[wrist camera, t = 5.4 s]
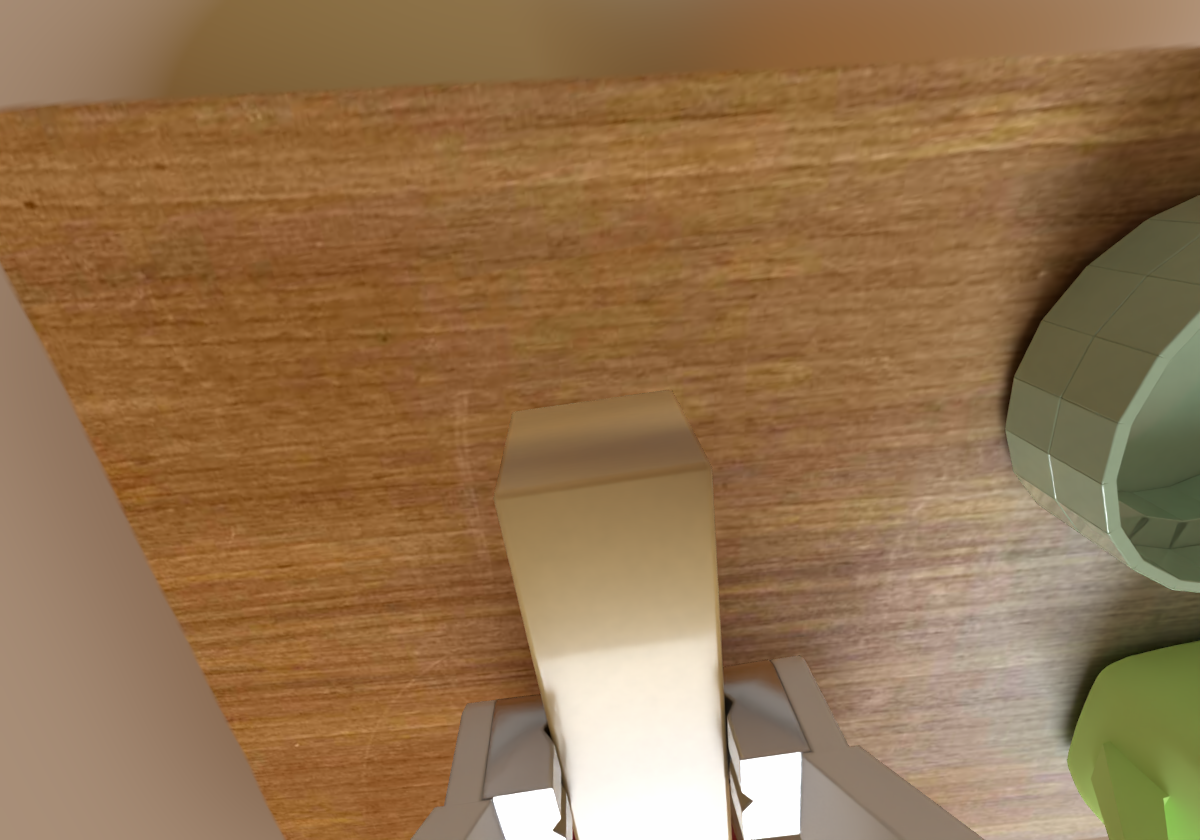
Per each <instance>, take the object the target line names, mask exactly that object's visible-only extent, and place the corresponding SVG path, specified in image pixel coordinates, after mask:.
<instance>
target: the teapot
mask: <svg viewBox="0 0 1200 840" xmlns="http://www.w3.org/2000/svg"><path fill="white" fill-rule="evenodd" d="M1067 763H1068V767H1069V770H1070V773H1071V776H1072V778H1073V780H1074V783H1075V785H1076V787H1077V789H1078V792H1079V794H1080V795H1081V797H1082V798H1083V800H1084V801H1085V803H1086V804H1087V805H1088V806H1089V808H1090V809H1091V810H1092V811H1093V812H1094V813H1095V815H1096V816H1097V817H1098V818H1099V819H1100V820H1101V821H1102V822H1103V824H1104V825H1105V827H1106V830H1107V834H1108V837H1109V840H1200V641H1195V642H1190V643H1185V644H1180V645H1175V646H1170V647H1166V648H1161V649H1157V650H1153V651H1149V652H1145V653H1141V654H1137V655H1131V656H1128V657H1125V658H1123V659H1122V660H1119V661H1116V662H1114V663H1112V664H1110V665H1109V666H1107V667H1106V668H1104V669H1103V670H1102V671H1101V672H1100V674H1099V675H1098V677H1097V678H1096V680H1095V682H1094V684H1093V686H1092V688H1091V690H1090V692H1089V695H1088V697H1087V699H1086V702H1085V704H1084V706H1083V709H1082V712H1081V714H1080V717H1079V719H1078V722H1077V725H1076V728H1075V731H1074V735H1073V738H1072V742H1071V745H1070V749H1069V753H1068V759H1067Z"/></svg>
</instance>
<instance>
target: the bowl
mask: <svg viewBox="0 0 1200 840" xmlns="http://www.w3.org/2000/svg"><path fill="white" fill-rule="evenodd" d="M1042 320H1043V321H1041V323H1040V325H1039V327H1038V329H1037V331H1036V333H1035V335H1034V337H1033V339H1032V341H1031V343H1030V345H1029V347H1028V349H1027V351H1026V353H1025V355H1024V357H1023V359H1022V361H1021V363H1020V365H1019V367H1018V369H1017V371H1016V373H1015V375H1014V380H1013V385H1012V391H1011V397H1010V402H1009V408H1008V414H1007V419H1006V425H1005V428H1006V429H1005V431H1006V437H1007V442H1008V447H1009V452H1010V457H1011V462H1012V468H1013V471H1014V473H1015V475H1016V476H1017V477H1018V479H1019V480H1020V481H1021V483H1022V484H1023V486H1024V487H1025V488H1026V490H1027V491H1028V492H1029V494H1030V495H1031V496H1032V498H1033V499H1034V500H1035V502H1036V503H1037V504H1038V505H1040V506H1041V507H1042V508H1044V509H1045V510H1047V511H1048V512H1050V513H1051V514H1053V515H1054V516H1055V517H1057V518H1058V519H1060V520H1061V521H1063V522H1064V523H1066V524H1067V525H1068V526H1070V527H1071V528H1073V529H1074V530H1076V531H1077V532H1079V533H1080V534H1082V535H1083V536H1084V537H1086V538H1087V539H1089V540H1090V541H1092V542H1093V543H1094V544H1096V545H1097V546H1099V547H1100V548H1102V549H1103V550H1105V551H1106V552H1108V553H1109V554H1110V555H1112V556H1113V557H1115V558H1116V559H1118V560H1119V561H1121V562H1122V563H1123V564H1125V565H1126V566H1128V567H1129V568H1131V569H1132V570H1134V571H1136V572H1138V573H1140V574H1142V575H1144V576H1146V577H1147V578H1149V579H1151V580H1153V581H1155V582H1157V583H1159V584H1161V585H1163V586H1165V587H1167V588H1169V589H1172V590H1178V591H1187V592H1196V593H1200V195H1198V196H1196V197H1194V198H1192V199H1190V200H1187V201H1185V202H1183V203H1181V204H1179V205H1177V206H1174V207H1172V208H1170V209H1168V210H1166V211H1164V212H1161V213H1159V214H1157V215H1155V216H1153V217H1151V218H1149V219H1148V220H1145V221H1144V222H1143V223H1142V224H1140V225H1139V226H1138V227H1136V228H1135V229H1134V230H1133V231H1131V232H1130V233H1129V234H1127V235H1126V236H1125V237H1124V238H1122V239H1121V240H1120V241H1118V242H1117V243H1116V244H1115V245H1113V246H1112V247H1111V248H1109V249H1108V250H1107V251H1106V252H1104V253H1103V254H1102V255H1100V256H1099V257H1098V258H1097V259H1095V260H1094V261H1093V262H1091V263H1090V264H1089V266H1086V268H1085V269H1084V270H1083V271H1082V272H1081V274H1080V275H1079V276H1078V277H1077V278H1076V280H1075V281H1074V282H1073V283H1072V284H1071V286H1070V287H1069V288H1068V289H1067V290H1066V292H1065V293H1064V294H1063V295H1062V296H1061V298H1060V299H1059V300H1058V301H1057V302H1056V304H1055V305H1054V306H1053V307H1052V309H1051V310H1050V311H1049V312H1048V313H1047V315H1046V316H1045V317H1044V318H1043V319H1042Z"/></svg>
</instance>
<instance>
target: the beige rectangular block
mask: <svg viewBox="0 0 1200 840" xmlns="http://www.w3.org/2000/svg"><path fill="white" fill-rule="evenodd" d="M493 499H494V503H495V507H496V511H497V516H498V520H499V524H500V528H501V532H502V536H503V540H504V545H505V549H506V553H507V557H508V561H509V565H510V569H511V574H512V578H513V582H514V586H515V590H516V594H517V598H518V603H519V607H520V611H521V615H522V619H523V623H524V627H525V632H526V636H527V640H528V644H529V648H530V652H531V656H532V661H533V665H534V669H535V673H536V677H537V681H538V685H539V690H540V694H541V698H542V702H543V706H544V710H545V714H546V719H547V723H548V727H549V731H550V735H551V739H552V741H553V742H554V745H555V749H556V753H557V757H558V761H559V765H560V769H561V781H562V785H563V787H564V788H565V790H566V793H567V797H568V802H569V806H570V810H571V815H572V826H573V831H574V835H575V839H576V840H732V827H731V809H730V790H729V772H728V753H727V735H726V717H725V698H724V680H723V661H722V643H721V624H720V606H719V587H718V569H717V550H716V532H715V513H714V495H713V476H712V466H711V464H710V462H709V460H708V458H707V456H706V454H705V452H704V450H703V448H702V447H701V445H700V443H699V441H698V439H697V437H696V435H695V433H694V431H693V429H692V427H691V425H690V423H689V422H688V420H687V418H686V416H685V414H684V412H683V410H682V408H681V406H680V404H679V402H678V400H677V398H676V397H675V395H674V393H673V391H671V390H663V391H656V392H649V393H642V394H635V395H628V396H621V397H614V398H607V399H600V400H593V401H586V402H579V403H572V404H565V405H558V406H551V407H544V408H537V409H530V410H523V411H516V412H514V413H512V416H511V421H510V425H509V430H508V434H507V439H506V443H505V448H504V452H503V457H502V461H501V466H500V470H499V475H498V479H497V484H496V488H495V493H494V497H493Z"/></svg>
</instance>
